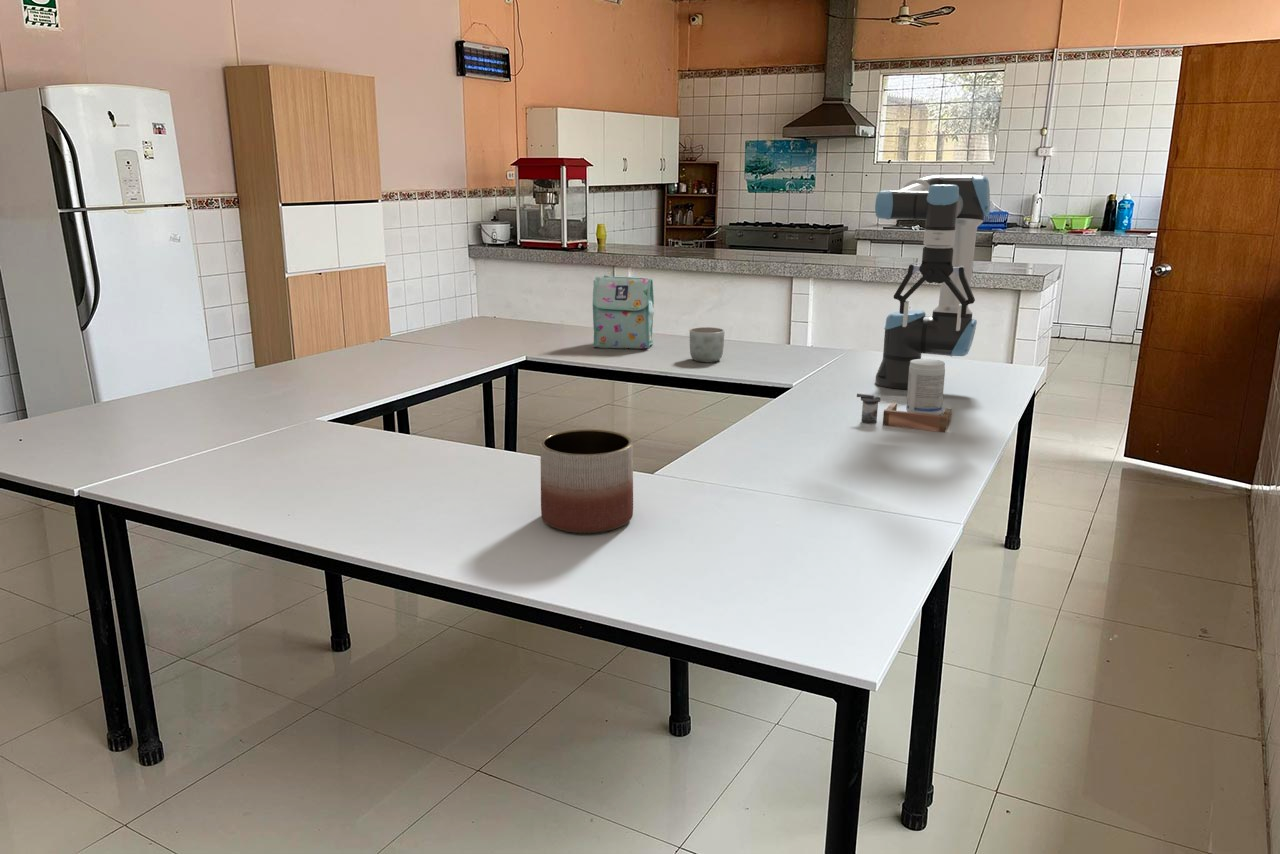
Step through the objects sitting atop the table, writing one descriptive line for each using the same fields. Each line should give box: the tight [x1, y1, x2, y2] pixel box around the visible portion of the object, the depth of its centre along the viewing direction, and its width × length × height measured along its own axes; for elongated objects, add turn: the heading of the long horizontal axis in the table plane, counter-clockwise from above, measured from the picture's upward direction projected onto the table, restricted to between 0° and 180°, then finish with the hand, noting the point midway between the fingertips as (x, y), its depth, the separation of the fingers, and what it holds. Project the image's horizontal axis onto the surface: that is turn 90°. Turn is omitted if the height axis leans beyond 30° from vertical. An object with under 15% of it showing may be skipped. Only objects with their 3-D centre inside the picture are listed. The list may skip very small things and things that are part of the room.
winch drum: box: [856, 393, 882, 425], centre depth 247 cm, size 5×6×7 cm
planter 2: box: [689, 326, 725, 363], centre depth 325 cm, size 12×12×11 cm
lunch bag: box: [592, 274, 655, 350], centre depth 348 cm, size 23×16×27 cm
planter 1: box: [539, 428, 634, 534], centre depth 175 cm, size 18×18×16 cm
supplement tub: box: [905, 358, 946, 415], centre depth 255 cm, size 10×10×15 cm
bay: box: [882, 402, 952, 433], centre depth 246 cm, size 12×16×4 cm
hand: (931, 328), depth 242 cm, fingers open, 13 cm apart
